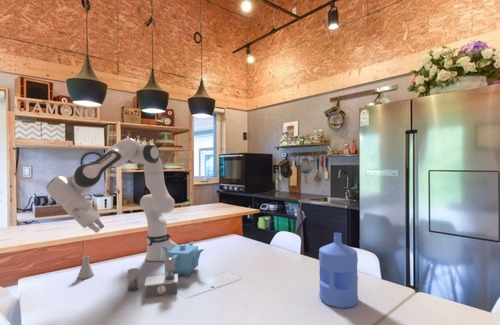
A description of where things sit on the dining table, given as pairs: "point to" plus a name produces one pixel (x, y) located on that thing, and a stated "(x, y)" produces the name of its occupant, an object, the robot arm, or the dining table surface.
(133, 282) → the ball
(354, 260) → the water jug
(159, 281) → the scale
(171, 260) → the cylinder
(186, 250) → the teakettle
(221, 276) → the dining table surface
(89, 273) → the flask
